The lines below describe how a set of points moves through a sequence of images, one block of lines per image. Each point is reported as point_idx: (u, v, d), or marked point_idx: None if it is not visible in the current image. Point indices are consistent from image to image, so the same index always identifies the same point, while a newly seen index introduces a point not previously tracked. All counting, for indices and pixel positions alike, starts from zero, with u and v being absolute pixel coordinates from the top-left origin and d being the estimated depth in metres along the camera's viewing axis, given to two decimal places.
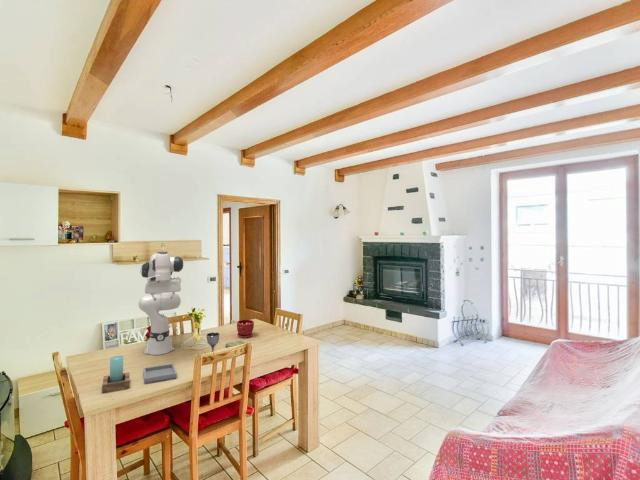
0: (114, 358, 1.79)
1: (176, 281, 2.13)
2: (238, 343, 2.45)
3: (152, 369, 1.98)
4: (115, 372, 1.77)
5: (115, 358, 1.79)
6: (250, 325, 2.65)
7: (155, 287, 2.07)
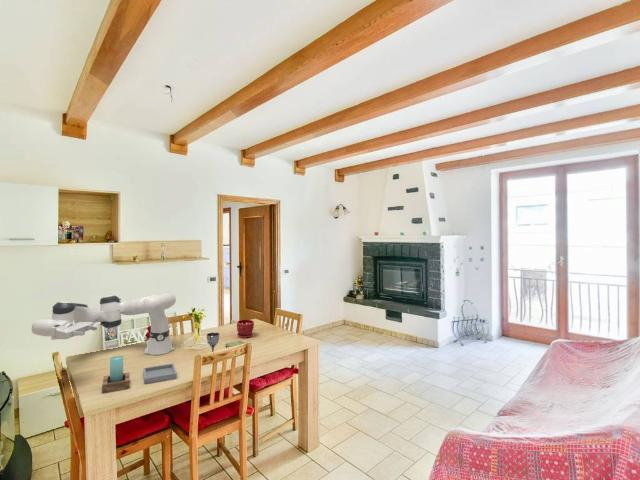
0: (114, 358, 1.79)
1: (80, 322, 1.88)
2: (238, 343, 2.45)
3: (152, 369, 1.98)
4: (115, 373, 1.77)
5: (115, 358, 1.79)
6: (250, 325, 2.65)
7: (69, 328, 1.76)
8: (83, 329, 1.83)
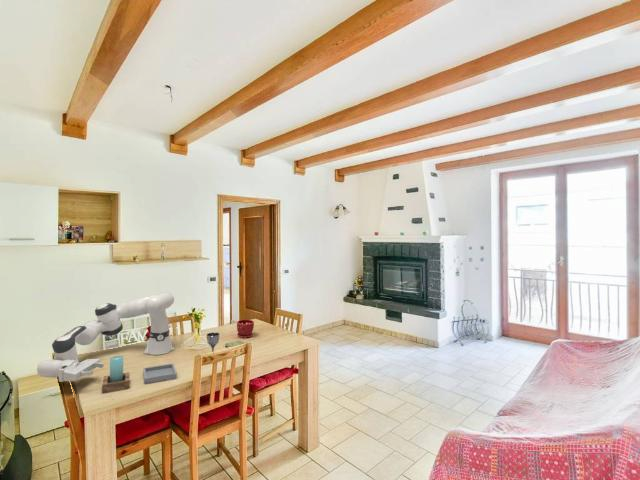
0: (114, 358, 1.79)
1: (86, 360, 1.86)
2: (238, 343, 2.45)
3: (152, 369, 1.98)
4: (115, 373, 1.77)
5: (115, 358, 1.79)
6: (250, 325, 2.65)
7: (76, 368, 1.75)
8: (90, 367, 1.82)
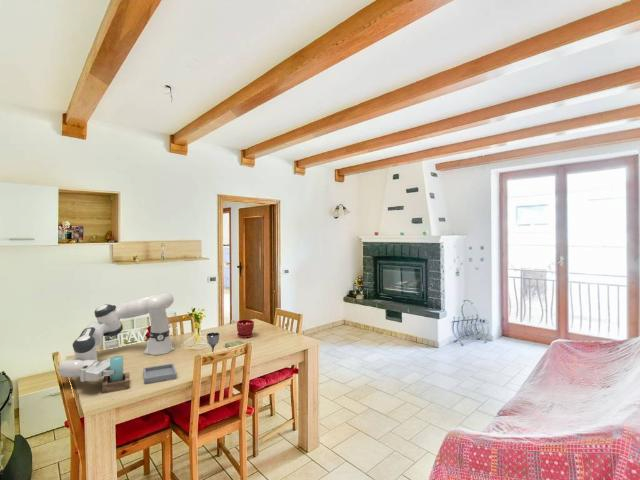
0: (114, 358, 1.79)
1: (106, 360, 1.87)
2: (238, 343, 2.45)
3: (152, 369, 1.98)
4: (115, 372, 1.77)
5: (115, 358, 1.79)
6: (250, 325, 2.65)
7: (98, 368, 1.75)
8: None
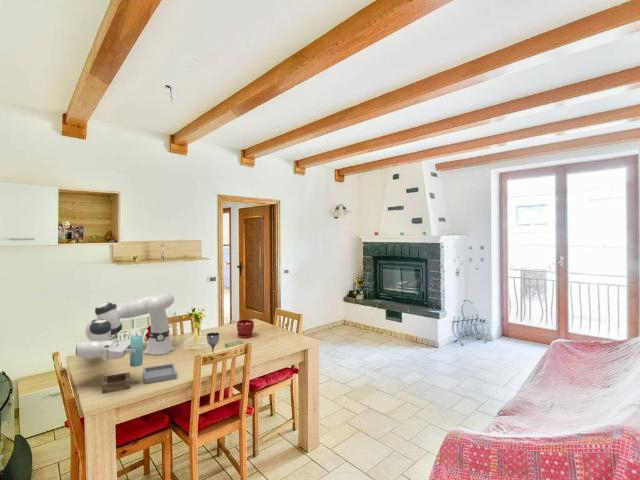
0: (134, 337, 1.84)
1: (121, 340, 1.90)
2: (237, 343, 2.45)
3: (152, 369, 1.98)
4: (136, 351, 1.82)
5: (135, 337, 1.84)
6: (250, 325, 2.65)
7: (119, 347, 1.79)
8: (129, 347, 1.86)
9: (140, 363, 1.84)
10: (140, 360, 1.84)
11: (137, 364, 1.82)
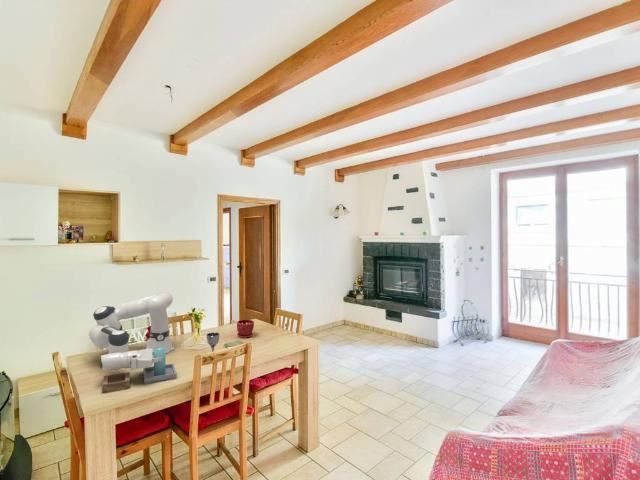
0: (157, 348, 1.92)
1: (140, 350, 1.96)
2: (237, 343, 2.45)
3: (152, 369, 1.98)
4: (161, 361, 1.91)
5: (159, 348, 1.92)
6: (250, 325, 2.65)
7: (145, 357, 1.86)
8: None
9: (164, 372, 1.93)
10: (164, 369, 1.93)
11: (162, 373, 1.92)
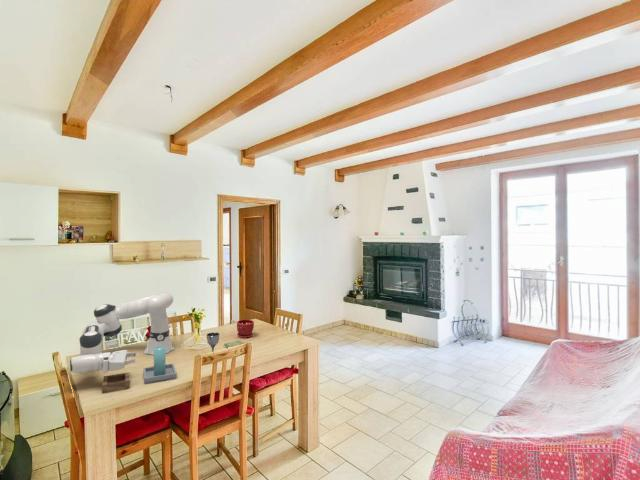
0: (157, 348, 1.93)
1: (114, 352, 1.90)
2: (237, 343, 2.45)
3: (152, 369, 1.98)
4: (161, 361, 1.91)
5: (159, 348, 1.92)
6: (250, 325, 2.65)
7: (118, 358, 1.81)
8: None
9: (164, 372, 1.93)
10: (164, 369, 1.93)
11: (162, 373, 1.92)
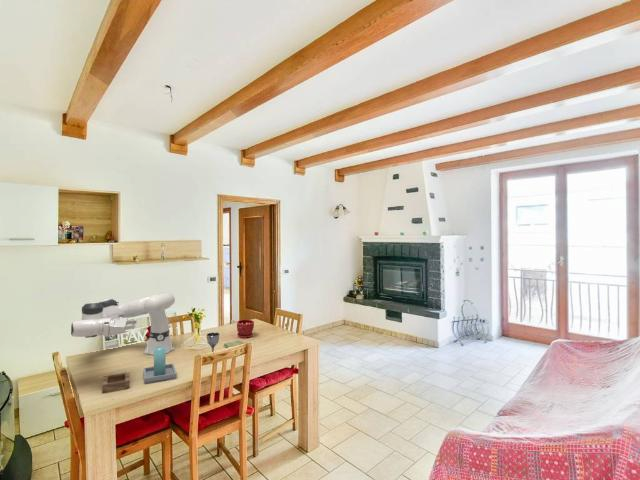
0: (157, 348, 1.93)
1: (115, 319, 1.93)
2: (237, 343, 2.45)
3: (152, 369, 1.98)
4: (161, 361, 1.91)
5: (159, 348, 1.92)
6: (250, 325, 2.65)
7: (118, 324, 1.83)
8: None
9: (164, 372, 1.93)
10: (164, 369, 1.93)
11: (162, 373, 1.92)
